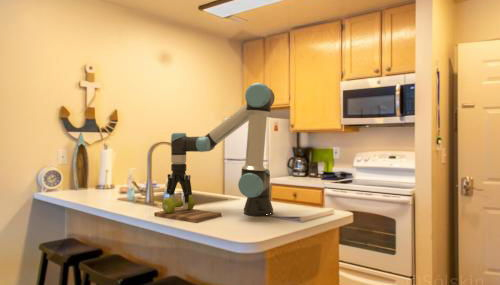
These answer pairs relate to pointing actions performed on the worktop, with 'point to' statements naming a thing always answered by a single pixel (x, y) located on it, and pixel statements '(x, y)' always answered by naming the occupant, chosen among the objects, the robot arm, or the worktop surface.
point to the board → (189, 215)
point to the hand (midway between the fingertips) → (179, 208)
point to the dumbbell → (176, 204)
